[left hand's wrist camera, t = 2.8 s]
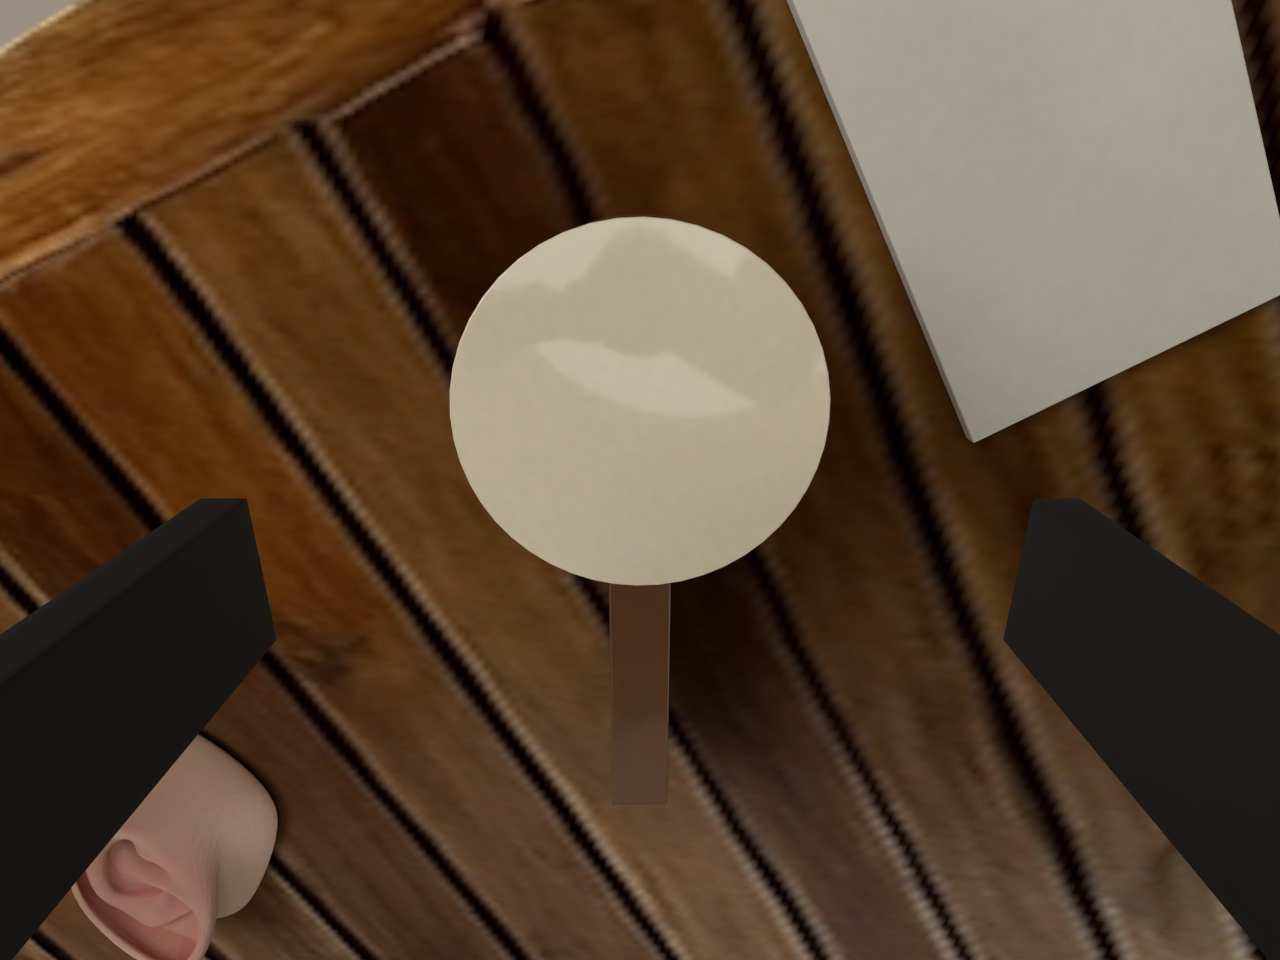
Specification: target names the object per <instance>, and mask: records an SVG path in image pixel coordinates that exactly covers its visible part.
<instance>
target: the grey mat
mask: <svg viewBox="0 0 1280 960" xmlns="http://www.w3.org/2000/svg"><path fill="white" fill-rule="evenodd" d="M787 2H788V5H789V7H790V10H791V12H792V15H793V17H794V19H795V22H796V24H797V27H798V29H799V32H800V34H801V37H802V39H803V41H804V44H805V46H806V49H807V51H808V54H809V56H810V58H811V61H812V63H813V66H814V68H815V71H816V73H817V75H818V78H819V80H820V83H821V85H822V88H823V90H824V92H825V95H826V97H827V100H828V102H829V105H830V107H831V109H832V112H833V114H834V117H835V119H836V122H837V124H838V127H839V129H840V131H841V134H842V136H843V139H844V141H845V144H846V146H847V148H848V151H849V153H850V156H851V158H852V161H853V163H854V165H855V168H856V170H857V173H858V175H859V178H860V180H861V182H862V185H863V187H864V190H865V192H866V195H867V197H868V199H869V202H870V204H871V207H872V209H873V212H874V214H875V216H876V219H877V221H878V224H879V226H880V229H881V231H882V234H883V236H884V238H885V241H886V243H887V246H888V248H889V251H890V253H891V255H892V258H893V260H894V263H895V265H896V268H897V270H898V272H899V275H900V277H901V280H902V282H903V285H904V287H905V289H906V292H907V294H908V297H909V299H910V302H911V304H912V306H913V309H914V311H915V314H916V316H917V319H918V321H919V323H920V326H921V328H922V331H923V333H924V336H925V338H926V341H927V343H928V345H929V348H930V350H931V353H932V355H933V358H934V360H935V362H936V365H937V367H938V370H939V372H940V375H941V377H942V379H943V382H944V384H945V387H946V389H947V392H948V394H949V396H950V399H951V401H952V404H953V406H954V409H955V411H956V413H957V416H958V418H959V421H960V423H961V426H962V428H963V430H964V433H965V435H966V438H968V439H969V440H970V441H972V442H973V443H975V442H977V441H979V440H981V439H983V438H985V437H987V436H990V435H992V434H994V433H996V432H998V431H1000V430H1002V429H1004V428H1006V427H1008V426H1010V425H1012V424H1014V423H1016V422H1019V421H1021V420H1023V419H1025V418H1027V417H1029V416H1031V415H1033V414H1035V413H1037V412H1039V411H1041V410H1043V409H1045V408H1047V407H1050V406H1052V405H1054V404H1056V403H1058V402H1060V401H1062V400H1064V399H1066V398H1068V397H1070V396H1072V395H1074V394H1076V393H1079V392H1081V391H1083V390H1085V389H1087V388H1089V387H1091V386H1093V385H1095V384H1097V383H1099V382H1101V381H1103V380H1105V379H1108V378H1110V377H1112V376H1114V375H1116V374H1118V373H1120V372H1122V371H1124V370H1126V369H1128V368H1130V367H1132V366H1134V365H1137V364H1139V363H1141V362H1143V361H1145V360H1147V359H1149V358H1151V357H1153V356H1155V355H1157V354H1159V353H1161V352H1163V351H1166V350H1168V349H1170V348H1172V347H1174V346H1176V345H1178V344H1180V343H1182V342H1184V341H1186V340H1188V339H1190V338H1192V337H1195V336H1197V335H1199V334H1201V333H1203V332H1205V331H1207V330H1209V329H1211V328H1213V327H1215V326H1217V325H1219V324H1221V323H1224V322H1226V321H1228V320H1230V319H1232V318H1234V317H1236V316H1238V315H1240V314H1242V313H1244V312H1246V311H1248V310H1250V309H1252V308H1255V307H1257V306H1259V305H1261V304H1263V303H1265V302H1267V301H1269V300H1271V299H1273V298H1275V297H1277V296H1279V295H1280V217H1279V212H1278V208H1277V203H1276V199H1275V195H1274V190H1273V186H1272V181H1271V177H1270V172H1269V168H1268V163H1267V159H1266V154H1265V150H1264V145H1263V141H1262V136H1261V132H1260V127H1259V123H1258V118H1257V114H1256V109H1255V105H1254V100H1253V96H1252V91H1251V87H1250V82H1249V78H1248V73H1247V69H1246V64H1245V60H1244V55H1243V51H1242V46H1241V42H1240V37H1239V33H1238V28H1237V24H1236V19H1235V15H1234V10H1233V6H1232V1H1231V0H787Z"/></svg>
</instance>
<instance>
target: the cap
mask: <svg viewBox="0 0 1280 960" xmlns="http://www.w3.org/2000/svg"><path fill="white" fill-rule="evenodd" d="M830 399H831V397H830V385H829V374H828V369H827V365H826V360H825V356H824V352H823V348H822V345H821V343H820V340H819V337H818V335H817V332H816V330H815V327H814V325H813V323H812V321H811V319H810V317H809V316H808V314H807V312H806V310H805V308H804V307H803V305H802V303H801V302H800V300H799V299H798V298H797V296H796V295H795V294H794V292H793V291H792V290H791V288H790V287H789V286H788V284H787V283H786V282H785V281H784V280H783V279H782V278H781V277H780V276H779V275H778V274H777V273H776V272H775V271H774V270H773V269H772V268H771V267H770V266H769V265H768V264H767V263H766V262H764V261H763V260H762V259H760V258H759V257H758V256H757V255H755V254H754V253H753V252H751V251H750V250H749V249H747V248H746V247H744V246H742V245H740V244H739V243H737V242H735V241H733V240H731V239H730V238H728V237H726V236H724V235H722V234H720V233H717V232H715V231H713V230H710V229H708V228H705V227H702V226H700V225H697V224H695V223H692V222H689V221H685V220H681V219H676V218H672V217H668V216H658V215H647V214H636V215H619V216H614V217H609V218H603V219H598V220H595V221H592V222H589V223H586V224H583V225H580V226H577V227H574V228H572V229H569V230H567V231H565V232H562V233H560V234H559V235H557V236H555V237H553V238H551V239H549V240H547V241H545V242H543V243H541V244H539V245H538V246H536V247H535V248H533V249H532V250H530V251H529V252H528V253H526V254H525V255H523V256H522V257H520V258H519V259H518V260H517V261H515V262H514V263H513V264H512V265H511V266H510V267H509V268H508V269H507V270H506V271H505V272H504V273H503V274H502V275H500V276H499V277H498V279H497V280H496V281H495V282H494V283H493V285H492V286H491V287H490V288H489V290H488V291H487V292H486V293H485V295H484V296H483V297H482V299H481V300H480V302H479V304H478V305H477V307H476V309H475V310H474V312H473V314H472V315H471V317H470V319H469V321H468V323H467V325H466V328H465V330H464V332H463V335H462V337H461V339H460V342H459V345H458V349H457V352H456V356H455V360H454V364H453V368H452V376H451V384H450V419H451V426H452V432H453V439H454V443H455V446H456V449H457V453H458V456H459V460H460V463H461V465H462V467H463V470H464V472H465V474H466V477H467V479H468V481H469V483H470V485H471V487H472V488H473V490H474V492H475V493H476V495H477V497H478V498H479V500H480V502H481V503H482V505H483V506H484V507H485V509H486V510H487V511H488V512H489V514H490V515H491V516H492V517H493V519H494V520H495V521H496V522H497V523H498V524H499V525H500V526H501V527H502V528H503V529H504V530H505V531H506V532H507V533H508V534H509V535H510V536H511V537H512V538H513V539H514V540H516V541H517V542H518V543H519V544H521V545H522V546H523V547H525V548H526V549H527V550H528V551H530V552H531V553H533V554H535V555H536V556H538V557H540V558H541V559H543V560H545V561H546V562H548V563H550V564H552V565H554V566H556V567H559V568H561V569H563V570H565V571H567V572H570V573H573V574H576V575H579V576H582V577H585V578H588V579H592V580H597V581H602V582H607V583H612V584H622V585H636V586H638V585H660V584H667V583H673V582H679V581H684V580H688V579H691V578H695V577H698V576H702V575H705V574H707V573H710V572H712V571H715V570H717V569H719V568H722V567H724V566H726V565H728V564H730V563H732V562H733V561H735V560H737V559H739V558H741V557H742V556H744V555H746V554H747V553H748V552H750V551H751V550H753V549H754V548H755V547H757V546H758V545H759V544H761V543H762V542H764V541H765V540H766V539H767V538H768V537H769V536H770V535H771V534H772V533H773V532H774V531H775V530H776V529H778V528H779V527H780V526H781V524H782V523H783V522H784V521H785V520H786V518H787V517H788V516H789V515H790V514H791V512H792V511H793V510H794V509H795V508H796V506H797V504H798V503H799V501H800V500H801V498H802V497H803V495H804V494H805V492H806V490H807V489H808V487H809V485H810V483H811V481H812V479H813V476H814V474H815V472H816V470H817V468H818V465H819V462H820V459H821V456H822V453H823V450H824V447H825V443H826V437H827V432H828V426H829V420H830Z"/></svg>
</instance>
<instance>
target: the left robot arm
mask: <svg viewBox="0 0 1280 960" xmlns="http://www.w3.org/2000/svg"><path fill="white" fill-rule="evenodd" d="M275 641H276V635H275V630H274V626H273V621H272V616H271V611H270V607H269V602H268V597H267V593H266V588H265V583H264V578H263V574H262V569H261V564H260V559H259V555H258V550H257V545H256V540H255V536H254V531H253V526H252V522H251V517H250V512H249V507H248V503H247V499H199V500H198V501H197V502H195V503H194V504H192V505H191V506H189V507H188V508H186V509H185V510H183V511H182V512H180V513H179V514H177V515H176V516H174V517H173V518H171V519H170V520H169V521H167V522H166V523H164V524H163V525H161V526H160V527H158V528H157V529H155V530H154V531H152V532H151V533H149V534H148V535H146V536H145V537H144V538H142V539H141V540H139V541H138V542H136V543H135V544H133V545H132V546H130V547H129V548H127V549H126V550H124V551H123V552H121V553H120V554H119V555H117V556H116V557H114V558H113V559H111V560H110V561H108V562H107V563H105V564H104V565H102V566H101V567H99V568H98V569H96V570H95V571H94V572H92V573H91V574H89V575H88V576H86V577H85V578H83V579H82V580H80V581H79V582H77V583H76V584H74V585H73V586H71V587H70V588H68V589H67V590H66V591H64V592H63V593H61V594H60V595H58V596H57V597H55V598H54V599H52V600H51V601H49V602H48V603H46V604H45V605H43V606H42V607H41V608H39V609H38V610H36V611H35V612H33V613H32V614H30V615H29V616H27V617H26V618H24V619H23V620H21V621H20V622H18V623H17V624H16V625H14V626H13V627H11V628H10V629H8V630H7V631H5V632H4V633H2V634H1V635H0V960H12V959H13V958H14V956H15V955H16V954H17V953H18V952H19V950H20V949H21V948H22V947H23V946H24V944H25V943H26V942H27V941H28V940H29V938H30V937H31V936H32V935H33V933H34V932H35V931H36V930H37V929H38V927H39V926H40V925H41V924H42V923H43V921H44V920H45V919H46V918H47V917H48V915H49V914H50V913H51V912H52V911H53V909H54V908H55V907H56V906H57V904H58V903H59V902H60V901H61V900H62V898H63V897H64V896H65V895H66V894H67V892H68V891H69V890H70V889H71V888H72V886H73V885H74V884H75V883H76V881H77V880H78V879H79V878H80V877H81V875H82V874H83V873H84V872H85V871H86V869H87V868H88V867H89V866H90V865H91V863H92V862H93V861H94V860H95V859H96V857H97V856H98V855H99V854H100V852H101V851H102V850H103V849H104V848H105V846H106V845H107V844H108V843H109V842H110V840H111V839H112V838H113V837H114V836H115V834H116V833H117V832H118V831H119V830H120V828H121V827H122V826H123V825H124V823H125V822H126V821H127V820H128V819H129V817H130V816H131V815H132V814H133V813H134V811H135V810H136V809H137V808H138V807H139V805H140V804H141V803H142V802H143V800H144V799H145V798H146V797H147V796H148V794H149V793H150V792H151V791H152V790H153V788H154V787H155V786H156V785H157V784H158V782H159V781H160V780H161V779H162V778H163V776H164V775H165V774H166V773H167V771H168V770H169V769H170V768H171V767H172V765H173V764H174V763H175V762H176V761H177V759H178V758H179V757H180V756H181V755H182V753H183V752H184V751H185V750H186V748H187V747H188V746H189V745H190V744H191V742H192V741H193V740H194V739H195V738H196V736H197V735H198V734H199V733H200V732H201V730H202V729H203V728H204V727H205V726H206V724H207V723H208V722H209V721H210V719H211V718H212V717H213V716H214V715H215V713H216V712H217V711H218V710H219V709H220V707H221V706H222V705H223V704H224V703H225V701H226V700H227V699H228V698H229V696H230V695H231V694H232V693H233V692H234V690H235V689H236V688H237V687H238V686H239V684H240V683H241V682H242V681H243V680H244V678H245V677H246V676H247V675H248V674H249V672H250V671H251V670H252V669H253V667H254V666H255V665H256V664H257V663H258V661H259V660H260V659H261V658H262V657H263V655H264V654H265V653H266V652H267V651H268V649H269V648H270V647H271V646H272V644H273V643H274V642H275ZM1004 641H1005V642H1006V643H1007V644H1008V646H1009V647H1010V648H1011V649H1012V651H1013V652H1014V653H1015V654H1016V655H1017V657H1018V658H1019V659H1020V660H1021V661H1022V663H1023V664H1024V665H1025V666H1026V667H1027V669H1028V670H1029V671H1030V672H1031V674H1032V675H1033V676H1034V677H1035V678H1036V680H1037V681H1038V682H1039V683H1040V684H1041V686H1042V687H1043V688H1044V689H1045V690H1046V692H1047V693H1048V694H1049V695H1050V696H1051V698H1052V699H1053V700H1054V701H1055V703H1056V704H1057V705H1058V706H1059V707H1060V709H1061V710H1062V711H1063V712H1064V713H1065V715H1066V716H1067V717H1068V718H1069V719H1070V721H1071V722H1072V723H1073V724H1074V726H1075V727H1076V728H1077V729H1078V730H1079V732H1080V733H1081V734H1082V735H1083V736H1084V738H1085V739H1086V740H1087V741H1088V742H1089V744H1090V745H1091V746H1092V747H1093V748H1094V750H1095V751H1096V752H1097V753H1098V755H1099V756H1100V757H1101V758H1102V759H1103V761H1104V762H1105V763H1106V764H1107V765H1108V767H1109V768H1110V769H1111V770H1112V771H1113V773H1114V774H1115V775H1116V776H1117V778H1118V779H1119V780H1120V781H1121V782H1122V784H1123V785H1124V786H1125V787H1126V788H1127V790H1128V791H1129V792H1130V793H1131V794H1132V796H1133V797H1134V798H1135V799H1136V800H1137V802H1138V803H1139V804H1140V805H1141V807H1142V808H1143V809H1144V810H1145V811H1146V813H1147V814H1148V815H1149V816H1150V817H1151V819H1152V820H1153V821H1154V822H1155V823H1156V825H1157V826H1158V827H1159V828H1160V830H1161V831H1162V832H1163V833H1164V834H1165V836H1166V837H1167V838H1168V839H1169V840H1170V842H1171V843H1172V844H1173V845H1174V846H1175V848H1176V849H1177V850H1178V851H1179V852H1180V854H1181V855H1182V856H1183V857H1184V859H1185V860H1186V861H1187V862H1188V863H1189V865H1190V866H1191V867H1192V868H1193V869H1194V871H1195V872H1196V873H1197V874H1198V875H1199V877H1200V878H1201V879H1202V880H1203V881H1204V883H1205V884H1206V885H1207V886H1208V888H1209V889H1210V890H1211V891H1212V892H1213V894H1214V895H1215V896H1216V897H1217V898H1218V900H1219V901H1220V902H1221V903H1222V904H1223V906H1224V907H1225V908H1226V909H1227V911H1228V912H1229V913H1230V914H1231V915H1232V917H1233V918H1234V919H1235V920H1236V921H1237V923H1238V924H1239V925H1240V926H1241V927H1242V929H1243V930H1244V931H1245V932H1246V933H1247V935H1248V936H1249V937H1250V938H1251V940H1252V941H1253V942H1254V943H1255V944H1256V946H1257V947H1258V948H1259V949H1260V950H1261V952H1262V953H1263V954H1264V955H1265V956H1266V958H1267V959H1268V960H1280V635H1279V634H1278V633H1276V632H1275V631H1273V630H1272V629H1270V628H1269V627H1267V626H1266V625H1264V624H1263V623H1262V622H1260V621H1259V620H1257V619H1256V618H1254V617H1253V616H1251V615H1250V614H1248V613H1247V612H1245V611H1244V610H1242V609H1241V608H1239V607H1238V606H1237V605H1235V604H1234V603H1232V602H1231V601H1229V600H1228V599H1226V598H1225V597H1223V596H1222V595H1220V594H1219V593H1217V592H1216V591H1214V590H1213V589H1212V588H1210V587H1209V586H1207V585H1206V584H1204V583H1203V582H1201V581H1200V580H1198V579H1197V578H1195V577H1194V576H1192V575H1191V574H1189V573H1188V572H1186V571H1185V570H1184V569H1182V568H1181V567H1179V566H1178V565H1176V564H1175V563H1173V562H1172V561H1170V560H1169V559H1167V558H1166V557H1164V556H1163V555H1161V554H1160V553H1159V552H1157V551H1156V550H1154V549H1153V548H1151V547H1150V546H1148V545H1147V544H1145V543H1144V542H1142V541H1141V540H1139V539H1138V538H1136V537H1135V536H1134V535H1132V534H1131V533H1129V532H1128V531H1126V530H1125V529H1123V528H1122V527H1120V526H1119V525H1117V524H1116V523H1114V522H1113V521H1111V520H1110V519H1109V518H1107V517H1106V516H1104V515H1103V514H1101V513H1100V512H1098V511H1097V510H1095V509H1094V508H1092V507H1091V506H1089V505H1088V504H1086V503H1085V502H1083V501H1082V500H1081V499H1033V503H1032V507H1031V512H1030V517H1029V522H1028V526H1027V531H1026V536H1025V540H1024V545H1023V550H1022V555H1021V559H1020V564H1019V569H1018V574H1017V578H1016V583H1015V588H1014V593H1013V597H1012V602H1011V607H1010V611H1009V616H1008V621H1007V626H1006V630H1005V635H1004Z"/></svg>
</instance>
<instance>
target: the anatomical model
mask: <svg viewBox="0 0 1280 960" xmlns="http://www.w3.org/2000/svg"><path fill="white" fill-rule="evenodd" d="M277 827H278V818H277V811H276V808H275V805H274V802H273V800H272V798H271V797H270V795H269V793H268V792H267V790H266V789H265V788H264V786H263V785H262V784H261V783H260V782H259V781H258V780H257V779H256V778H255V776H254V775H253V774H252V773H250V772H249V771H248V770H247V769H246V768H245V767H244V766H243V765H242V764H240V763H239V762H238V761H237V760H235V759H234V758H233V757H232V756H230V755H229V754H228V753H226V752H225V751H224V750H222V749H221V748H219V747H218V746H217V745H215V744H214V743H212V742H211V741H209V740H208V739H206V738H204V737H203V736H201V735H199V734H198V735H197V736H196V738H195V739H194V740H193V741H192V742H191V744H190V745H189V746H188V747H187V748H186V750H185V751H184V752H183V753H182V755H181V756H180V757H179V758H178V759H177V761H176V762H175V763H174V764H173V765H172V767H171V768H170V769H169V770H168V771H167V773H166V774H165V775H164V776H163V778H162V779H161V780H160V781H159V782H158V784H157V785H156V786H155V787H154V788H153V790H152V791H151V792H150V793H149V794H148V796H147V797H146V798H145V799H144V800H143V802H142V803H141V804H140V805H139V807H138V808H137V809H136V810H135V811H134V813H133V814H132V815H131V816H130V817H129V819H128V820H127V821H126V822H125V823H124V825H123V826H122V827H121V828H120V830H119V831H118V832H117V833H116V834H115V836H114V837H113V838H112V839H111V840H110V842H109V843H108V844H107V845H106V846H105V848H104V849H103V850H102V851H101V852H100V854H99V855H98V856H97V857H96V859H95V860H94V861H93V862H92V863H91V865H90V866H89V867H88V868H87V869H86V871H85V872H84V873H83V874H82V875H81V877H80V878H79V879H78V880H77V881H76V883H75V884H74V885H73V886H72V888H71V889H72V891H73V894H74V896H75V898H76V900H77V901H78V903H79V905H80V907H81V908H82V910H83V911H84V912H85V914H86V915H87V916H88V918H89V919H90V920H91V921H92V922H93V923H94V924H95V925H96V926H97V928H98V929H99V930H100V931H101V932H102V933H104V934H105V935H106V936H107V937H108V938H109V939H110V940H111V941H112V942H114V943H115V944H116V945H117V946H118V947H120V948H121V949H122V950H123V951H125V952H126V953H128V954H129V955H131V956H132V957H134V958H136V959H137V960H201V959H202V958H203V956H204V954H205V953H206V951H207V949H208V946H209V944H210V942H211V939H212V935H213V932H214V928H215V923H216V918H222V917H225V916H229V915H232V914H234V913H236V912H238V911H239V910H241V909H242V908H243V907H244V906H245V905H246V904H247V903H248V902H249V901H250V899H251V898H252V896H253V895H254V893H255V892H256V890H257V888H258V886H259V884H260V882H261V880H262V878H263V876H264V873H265V871H266V868H267V866H268V863H269V860H270V857H271V854H272V851H273V848H274V844H275V840H276V834H277Z"/></svg>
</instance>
